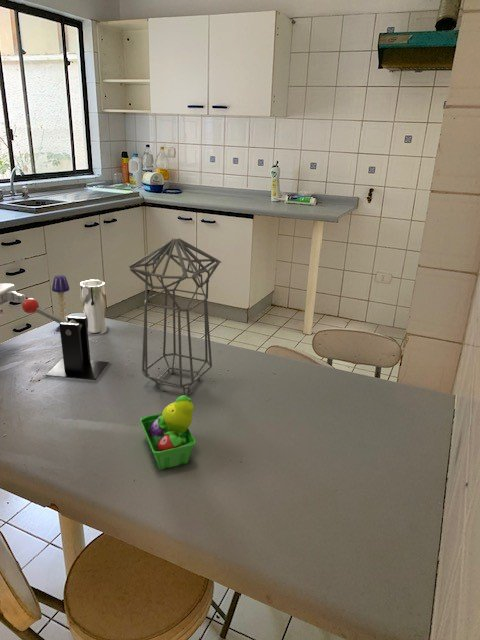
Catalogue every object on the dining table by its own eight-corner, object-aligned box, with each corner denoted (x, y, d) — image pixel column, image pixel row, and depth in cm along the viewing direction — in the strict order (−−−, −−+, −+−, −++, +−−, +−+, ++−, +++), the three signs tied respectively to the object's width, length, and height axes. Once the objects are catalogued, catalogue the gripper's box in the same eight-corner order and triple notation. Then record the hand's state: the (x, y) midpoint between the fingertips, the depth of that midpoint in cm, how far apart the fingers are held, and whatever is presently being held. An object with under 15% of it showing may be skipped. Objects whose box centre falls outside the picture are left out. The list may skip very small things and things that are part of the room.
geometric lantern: (192, 410, 100) (192, 251, 86) (130, 393, 105) (121, 241, 92) (221, 378, 113) (226, 236, 100) (165, 364, 118) (162, 228, 105)
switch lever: (16, 311, 106) (21, 298, 105) (25, 306, 109) (29, 293, 108) (73, 339, 107) (78, 327, 106) (80, 333, 111) (85, 321, 109)
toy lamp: (62, 327, 138) (56, 273, 131) (76, 329, 137) (71, 274, 131) (53, 333, 133) (46, 277, 127) (67, 335, 132) (62, 279, 126)
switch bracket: (45, 379, 109) (38, 326, 104) (63, 362, 117) (57, 311, 112) (95, 384, 108) (90, 330, 103) (109, 366, 116) (105, 315, 111)
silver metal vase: (78, 334, 133) (73, 284, 128) (94, 325, 139) (90, 278, 134) (98, 338, 131) (94, 288, 125) (113, 330, 137) (110, 281, 131)
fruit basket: (139, 439, 90) (137, 389, 85) (183, 430, 93) (183, 380, 89) (154, 477, 80) (153, 422, 76) (203, 465, 84) (203, 412, 79)
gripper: (-14, 298, 119) (37, 303, 118) (-72, 330, 100) (-11, 335, 99) (-18, 275, 117) (34, 279, 116) (-78, 302, 98) (-16, 307, 97)
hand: (13, 305), depth 107 cm, fingers open, 8 cm apart
